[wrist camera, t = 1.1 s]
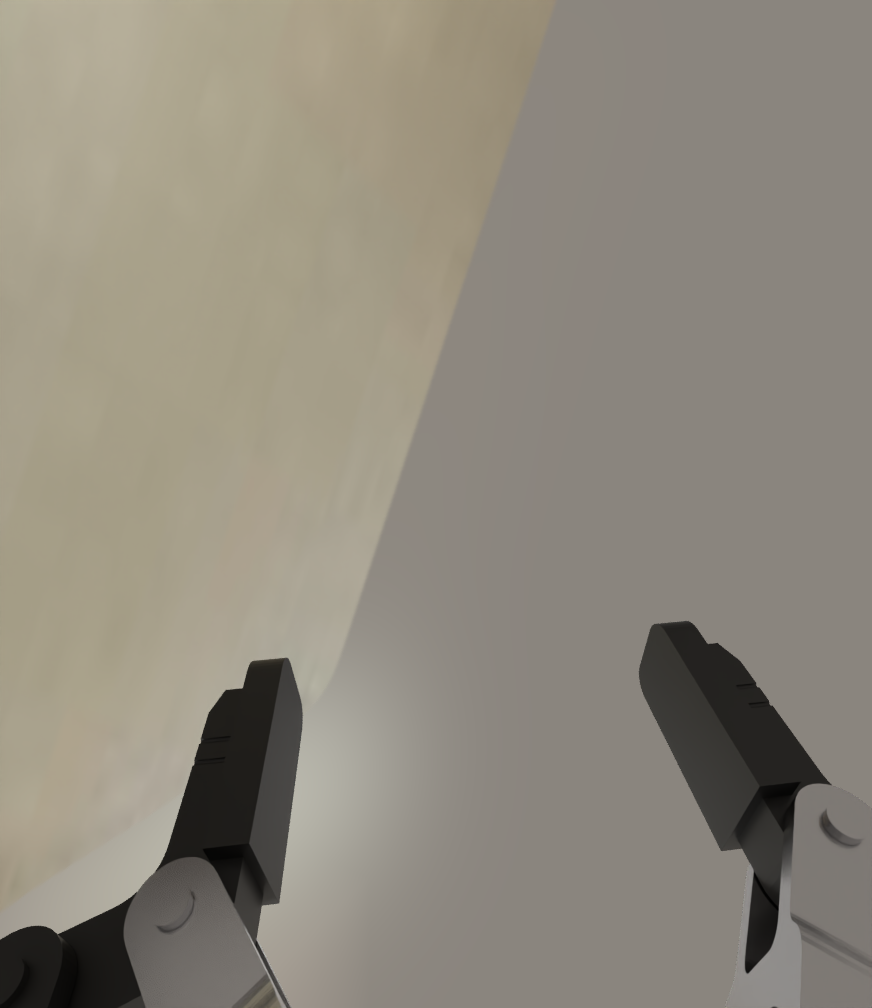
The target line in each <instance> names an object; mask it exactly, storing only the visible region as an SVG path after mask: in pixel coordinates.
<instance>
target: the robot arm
mask: <svg viewBox="0 0 872 1008" xmlns="http://www.w3.org/2000/svg"><path fill="white" fill-rule="evenodd" d="M639 679H640V685H641V689H642V692H643V694H644V697H645V699H646V701H647V703H648V705H649V707H650V709H651V711H652V713H653V715H654V717H655V719H656V721H657V723H658V725H659V727H660V729H661V731H662V733H663V735H664V737H665V739H666V741H667V743H668V745H669V747H670V749H671V751H672V753H673V755H674V757H675V759H676V761H677V763H678V765H679V767H680V769H681V771H682V773H683V775H684V777H685V779H686V781H687V783H688V785H689V787H690V789H691V791H692V793H693V795H694V797H695V799H696V801H697V803H698V805H699V807H700V809H701V811H702V813H703V815H704V817H705V819H706V821H707V823H708V825H709V827H710V829H711V831H712V833H713V835H714V837H715V839H716V841H717V843H718V845H719V848H720V849H721V851H726V850H733V849H743V851H744V853H745V855H746V857H747V859H748V860H749V862H750V864H749V866H748V870H747V875H746V876H747V877H746V885H745V893H744V894H745V895H744V903H743V911H742V920H741V929H740V930H741V931H740V938H739V947H738V957H737V965H736V972H735V978H734V982H733V986H732V989H731V991H730V994H729V996H728V999H727V1003H726V1006H725V1008H872V809H871V808H870V807H869V806H868V805H867V804H866V803H864V802H863V801H862V800H860V799H859V798H858V797H856V796H854V795H853V794H851V793H849V792H847V791H845V790H843V789H840V788H838V787H835V786H832V785H831V784H830V783H829V782H828V781H827V779H826V778H825V777H824V776H823V775H822V773H821V772H820V770H819V769H818V768H817V766H816V765H815V764H814V762H813V761H812V759H811V758H810V757H809V755H808V754H807V753H806V751H805V750H804V748H803V747H802V746H801V744H800V743H799V742H798V740H797V739H796V737H795V736H794V735H793V733H792V732H791V730H790V729H789V728H788V726H787V725H786V724H785V722H784V721H783V719H782V718H781V717H780V715H779V714H778V713H777V711H776V710H775V708H774V707H773V706H770V704H769V700H768V699H767V698H766V696H765V695H764V693H763V692H762V690H761V689H760V688H758V687H757V686H756V682H755V681H754V680H753V678H752V677H751V675H750V674H749V672H748V671H747V670H746V668H745V667H744V666H743V664H742V663H741V662H740V661H739V660H738V659H737V658H736V657H734V656H733V655H732V654H731V653H729V652H728V651H727V650H725V649H724V648H723V647H722V646H720V645H719V644H718V643H715V644H707V643H706V641H705V640H704V638H703V637H702V635H701V634H700V632H699V631H698V629H697V628H696V627H695V625H693V624H692V623H691V622H689V621H683V622H671V623H661V624H654V625H653V626H652V627H651V629H650V632H649V636H648V639H647V643H646V646H645V650H644V654H643V657H642V661H641V664H640V668H639ZM301 732H302V704H301V699H300V695H299V692H298V688H297V685H296V681H295V678H294V674H293V671H292V667H291V664H290V661H289V659H288V658H280V659H269V660H259V661H252V662H251V663H250V665H249V667H248V670H247V674H246V678H245V682H244V686H243V688H242V689H232V690H225V692H224V693H223V694H222V696H221V697H220V699H219V700H218V701H217V703H216V704H215V705H214V707H213V708H212V709H211V711H210V712H209V714H208V717H207V720H206V724H205V727H204V730H203V734H202V737H201V744H199V747H198V750H197V753H196V757H195V760H194V761H195V764H194V766H192V770H191V773H190V776H189V780H188V783H187V786H186V789H185V793H184V796H183V799H182V803H181V806H180V809H179V813H178V816H177V819H176V822H175V826H174V829H173V832H172V835H171V839H170V842H169V845H168V848H167V851H166V853H165V856H164V858H163V860H162V862H161V864H160V865H159V867H158V868H157V870H156V872H155V873H154V874H153V875H151V876H150V877H149V878H148V880H147V881H146V882H145V883H144V884H143V885H142V886H141V888H140V889H139V891H138V892H136V893H135V894H134V895H133V896H132V897H131V898H129V899H128V900H126V901H125V902H123V903H122V904H120V905H118V906H116V907H114V908H113V909H110V910H108V911H106V912H104V913H102V914H100V915H98V916H96V917H94V918H91V919H89V920H87V921H85V922H83V923H81V924H79V925H77V926H75V927H73V928H70V929H68V930H66V931H64V932H62V933H60V934H57V933H55V932H54V931H53V930H52V929H50V928H47V927H44V926H31V927H26V928H23V929H20V930H18V931H15V932H13V933H11V934H9V935H8V936H6V937H4V938H2V939H1V940H0V1008H292V1007H291V1005H290V1003H289V1001H288V999H287V997H286V995H285V993H284V991H283V989H282V987H281V985H280V983H279V981H278V979H277V977H276V975H275V973H274V971H273V969H272V967H271V965H270V963H269V961H268V960H267V957H266V955H265V953H264V951H263V949H262V947H261V946H260V943H259V942H258V940H257V932H258V926H259V919H260V913H261V907H262V905H269V904H277V903H279V899H280V892H281V885H282V877H283V870H284V861H285V854H286V846H287V839H288V832H289V824H290V816H291V809H292V801H293V794H294V786H295V779H296V771H297V764H298V756H299V748H300V741H301Z"/></svg>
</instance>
